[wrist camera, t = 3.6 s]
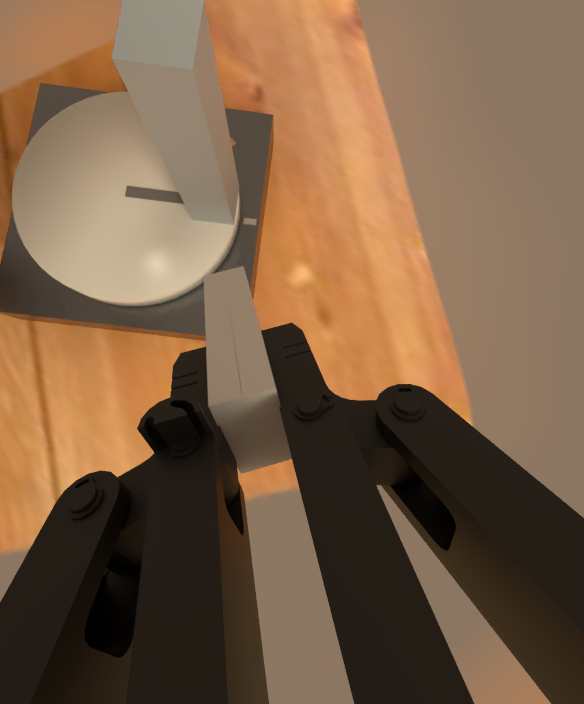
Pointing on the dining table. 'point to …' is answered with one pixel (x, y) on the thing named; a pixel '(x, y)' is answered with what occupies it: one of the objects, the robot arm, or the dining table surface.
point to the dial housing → (159, 319)
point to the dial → (136, 168)
